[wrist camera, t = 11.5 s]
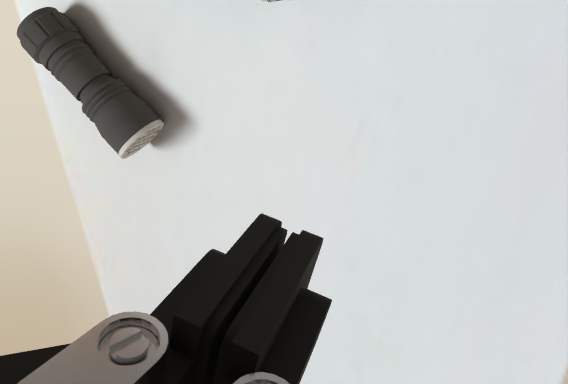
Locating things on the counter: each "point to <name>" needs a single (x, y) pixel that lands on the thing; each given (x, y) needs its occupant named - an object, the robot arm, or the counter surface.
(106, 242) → the counter surface
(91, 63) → the flashlight
